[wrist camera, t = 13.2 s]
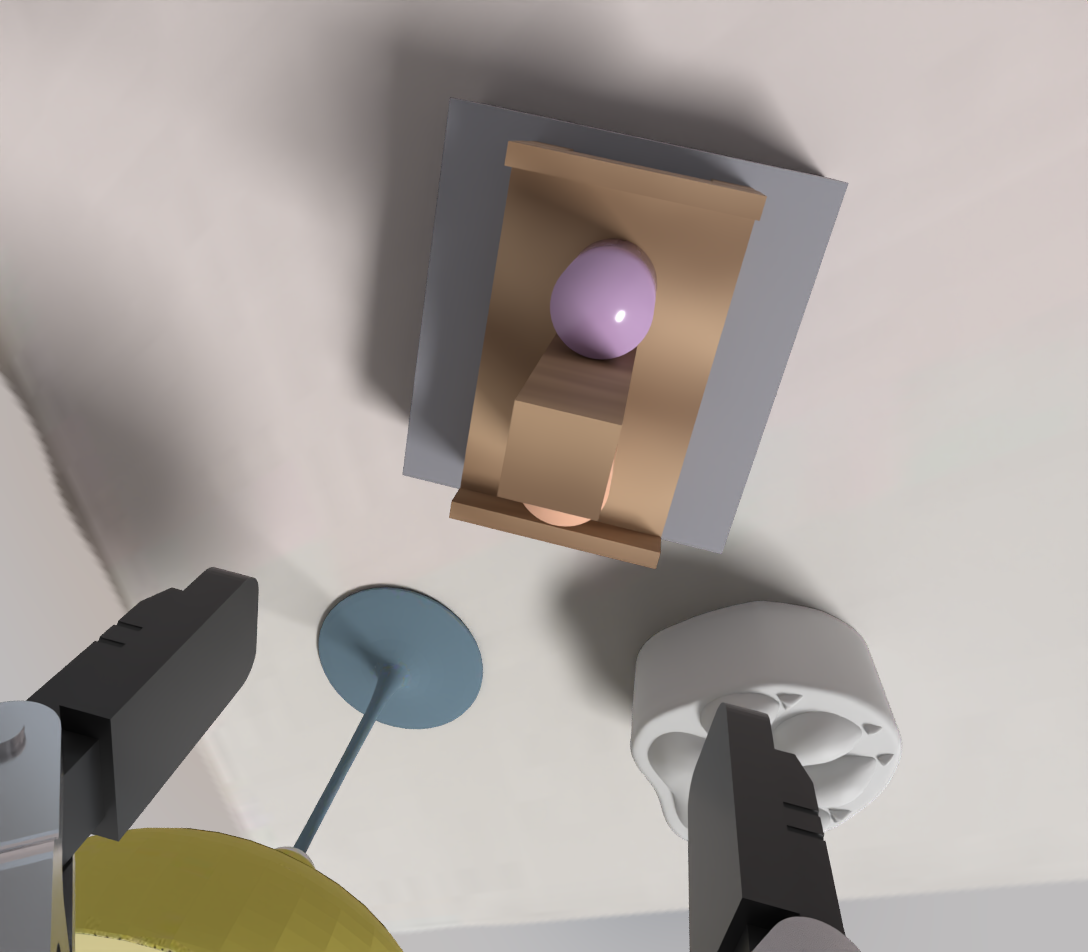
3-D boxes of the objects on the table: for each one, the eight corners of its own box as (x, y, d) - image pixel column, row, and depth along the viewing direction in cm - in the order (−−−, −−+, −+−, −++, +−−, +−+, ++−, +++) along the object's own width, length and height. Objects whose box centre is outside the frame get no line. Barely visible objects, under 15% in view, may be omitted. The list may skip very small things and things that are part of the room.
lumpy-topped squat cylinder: (619, 638, 46) (608, 741, 38) (839, 572, 42) (876, 672, 34) (685, 767, 49) (686, 887, 41) (894, 716, 45) (941, 838, 37)
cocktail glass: (373, 798, 54) (156, 1268, 32) (212, 602, 49) (-179, 992, 27) (593, 717, 48) (520, 1226, 26) (434, 484, 43) (172, 859, 21)
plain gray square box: (479, 102, 35) (450, 97, 31) (825, 177, 34) (848, 183, 30) (431, 438, 42) (402, 474, 38) (716, 508, 41) (721, 554, 37)
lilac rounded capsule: (575, 230, 29) (559, 246, 24) (666, 247, 28) (664, 265, 24) (560, 320, 30) (542, 348, 26) (647, 336, 30) (642, 368, 26)
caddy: (532, 140, 31) (437, 141, 19) (753, 187, 30) (805, 221, 18) (476, 472, 37) (377, 635, 25) (658, 517, 37) (648, 706, 24)
